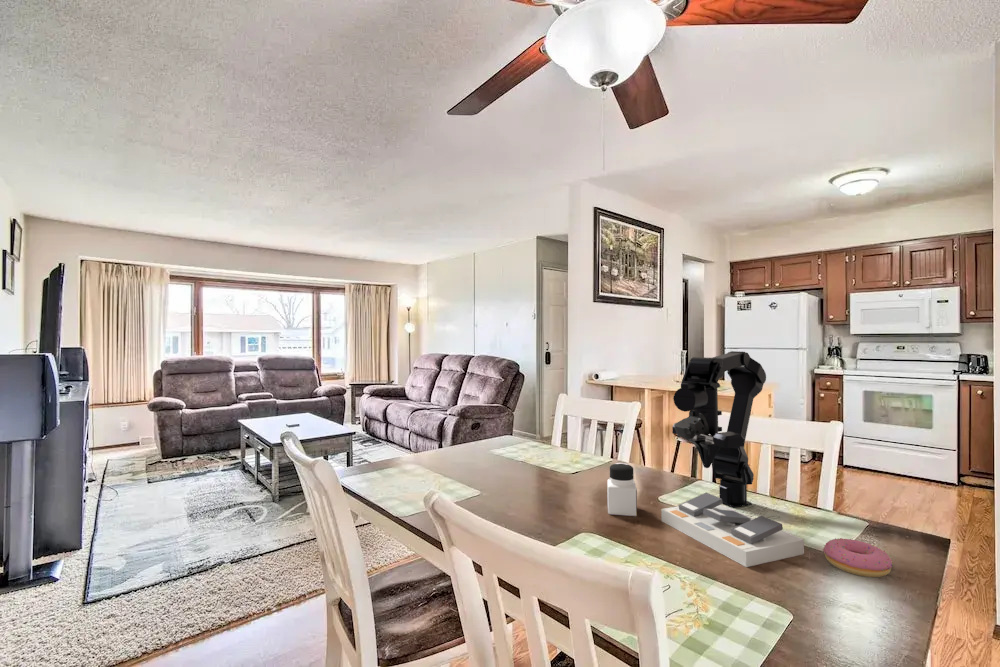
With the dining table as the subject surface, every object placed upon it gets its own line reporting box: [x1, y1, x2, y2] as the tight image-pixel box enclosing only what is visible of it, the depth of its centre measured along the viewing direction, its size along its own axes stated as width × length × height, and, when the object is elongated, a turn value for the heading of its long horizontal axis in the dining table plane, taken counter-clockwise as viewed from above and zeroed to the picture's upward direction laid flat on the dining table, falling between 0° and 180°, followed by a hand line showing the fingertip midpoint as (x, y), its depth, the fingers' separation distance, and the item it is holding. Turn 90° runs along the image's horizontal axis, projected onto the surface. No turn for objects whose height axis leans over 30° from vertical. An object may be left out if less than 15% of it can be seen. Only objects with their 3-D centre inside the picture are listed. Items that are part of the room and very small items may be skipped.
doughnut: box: [822, 537, 893, 578], centre depth 93 cm, size 11×11×4 cm
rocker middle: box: [703, 508, 752, 523], centre depth 107 cm, size 9×5×1 cm, turn 110°
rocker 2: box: [731, 515, 784, 544], centre depth 100 cm, size 9×5×1 cm, turn 110°
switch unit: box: [660, 504, 805, 568], centre depth 107 cm, size 16×25×4 cm, turn 20°
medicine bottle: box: [606, 462, 638, 517], centre depth 123 cm, size 7×7×12 cm
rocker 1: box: [678, 492, 724, 517], centre depth 115 cm, size 9×5×1 cm, turn 110°
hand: (706, 467), depth 120 cm, fingers closed
